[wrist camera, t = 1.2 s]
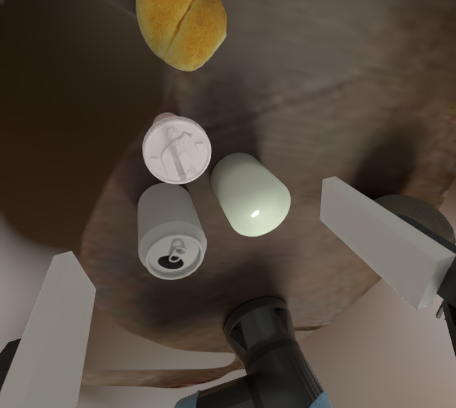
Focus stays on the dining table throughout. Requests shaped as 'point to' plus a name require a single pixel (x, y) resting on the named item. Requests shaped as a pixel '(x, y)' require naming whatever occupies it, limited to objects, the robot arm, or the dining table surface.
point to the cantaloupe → (418, 213)
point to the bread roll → (182, 30)
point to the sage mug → (249, 194)
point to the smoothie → (176, 149)
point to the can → (169, 232)
